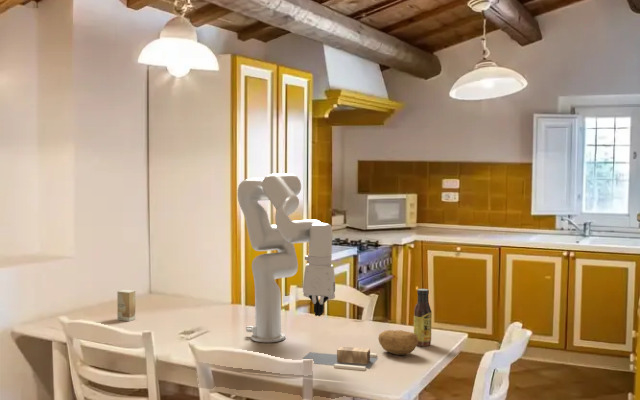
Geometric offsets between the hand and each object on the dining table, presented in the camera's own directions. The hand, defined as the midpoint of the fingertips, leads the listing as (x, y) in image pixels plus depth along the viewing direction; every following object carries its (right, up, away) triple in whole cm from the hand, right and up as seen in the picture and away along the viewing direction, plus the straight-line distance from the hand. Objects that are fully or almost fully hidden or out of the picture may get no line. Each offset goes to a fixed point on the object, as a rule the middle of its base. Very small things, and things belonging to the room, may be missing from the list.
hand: (318, 314), depth 234 cm
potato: (+27, -15, +6) cm, 31 cm away
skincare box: (-80, -12, +59) cm, 100 cm away
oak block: (+7, -13, -2) cm, 14 cm away
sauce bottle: (+37, -14, +18) cm, 43 cm away
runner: (+6, -15, -2) cm, 16 cm away
